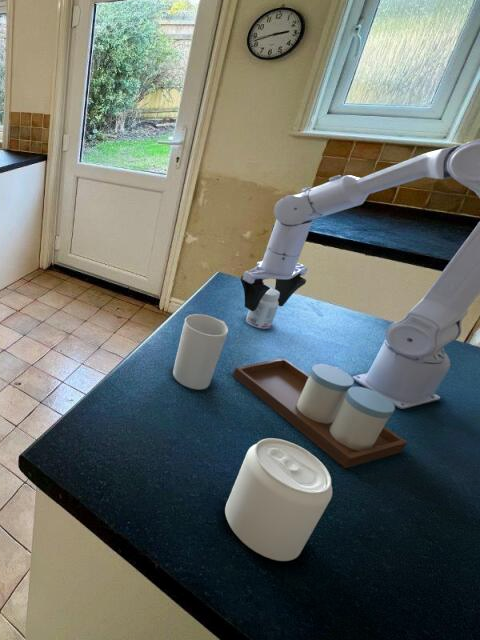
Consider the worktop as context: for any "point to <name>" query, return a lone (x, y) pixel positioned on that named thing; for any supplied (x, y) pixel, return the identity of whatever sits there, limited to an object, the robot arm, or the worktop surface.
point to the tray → (282, 396)
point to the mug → (199, 350)
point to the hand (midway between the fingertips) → (263, 306)
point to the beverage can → (278, 498)
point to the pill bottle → (264, 310)
